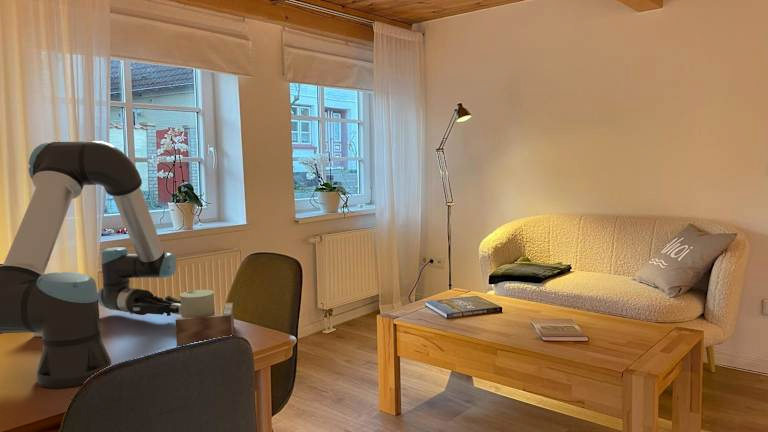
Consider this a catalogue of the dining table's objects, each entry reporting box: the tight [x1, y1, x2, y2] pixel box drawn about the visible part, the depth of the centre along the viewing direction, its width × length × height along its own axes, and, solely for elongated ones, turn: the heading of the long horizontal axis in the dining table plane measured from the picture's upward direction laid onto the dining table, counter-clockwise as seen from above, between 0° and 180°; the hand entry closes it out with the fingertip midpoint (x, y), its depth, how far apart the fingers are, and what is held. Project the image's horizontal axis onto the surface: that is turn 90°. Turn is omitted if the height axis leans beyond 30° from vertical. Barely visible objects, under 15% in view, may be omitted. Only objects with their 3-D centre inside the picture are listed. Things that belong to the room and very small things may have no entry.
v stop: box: [175, 302, 235, 347], centre depth 161 cm, size 11×20×7 cm, turn 147°
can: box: [179, 289, 216, 317], centre depth 164 cm, size 9×9×12 cm
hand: (188, 310), depth 167 cm, fingers closed
